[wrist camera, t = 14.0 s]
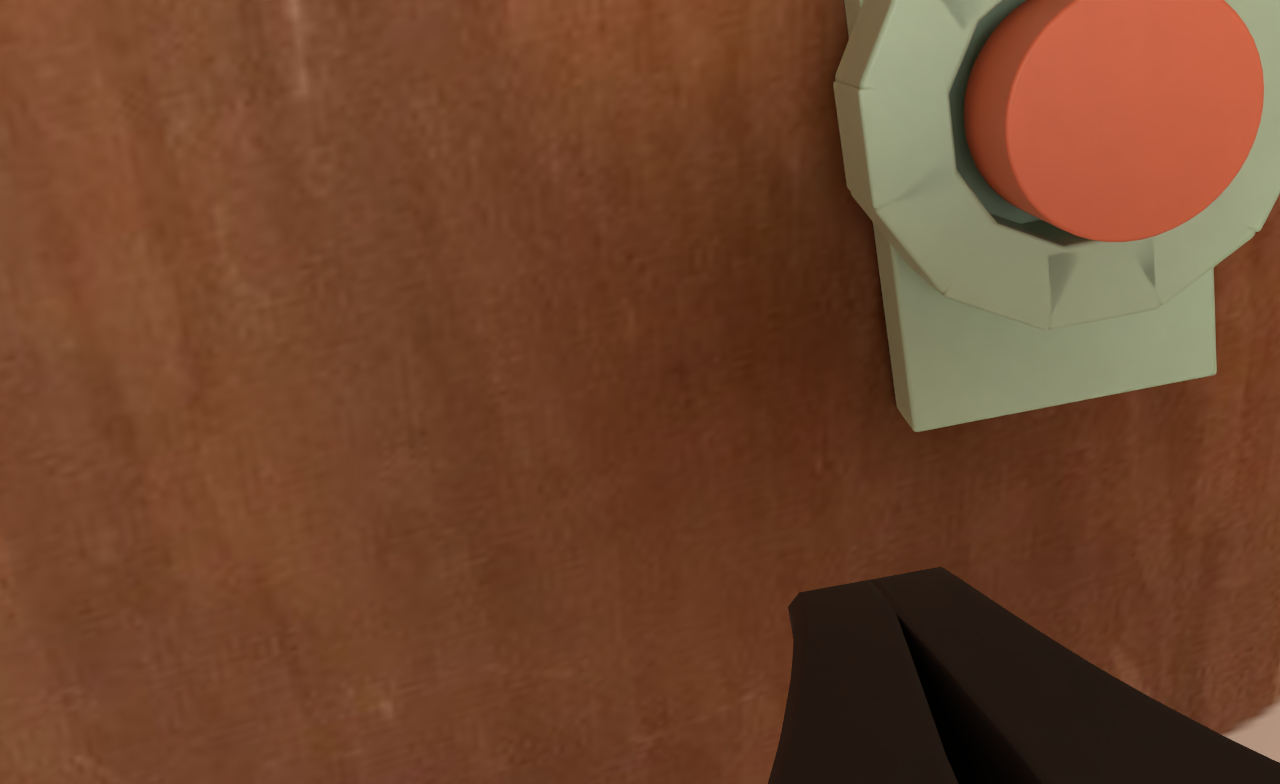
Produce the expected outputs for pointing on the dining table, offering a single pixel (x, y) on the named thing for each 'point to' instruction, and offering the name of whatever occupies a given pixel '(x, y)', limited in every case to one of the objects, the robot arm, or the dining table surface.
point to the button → (1114, 111)
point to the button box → (1019, 235)
